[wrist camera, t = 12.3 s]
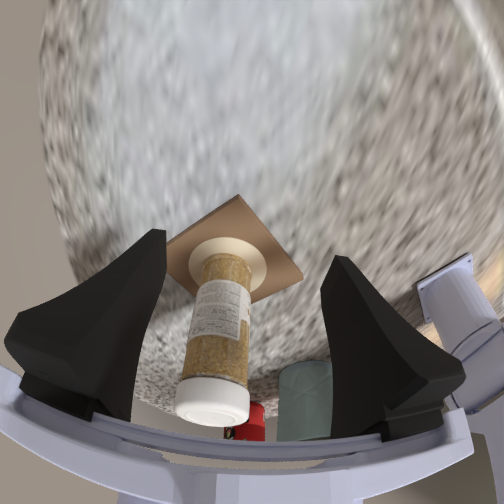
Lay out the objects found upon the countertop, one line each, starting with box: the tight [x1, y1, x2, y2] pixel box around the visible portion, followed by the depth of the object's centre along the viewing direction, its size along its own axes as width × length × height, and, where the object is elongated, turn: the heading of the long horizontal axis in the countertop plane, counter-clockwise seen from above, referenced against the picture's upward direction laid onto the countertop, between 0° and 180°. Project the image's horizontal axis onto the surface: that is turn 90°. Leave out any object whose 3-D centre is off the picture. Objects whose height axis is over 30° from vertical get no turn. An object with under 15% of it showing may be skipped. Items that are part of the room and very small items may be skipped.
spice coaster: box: [166, 194, 303, 304], centre depth 25 cm, size 10×10×1 cm
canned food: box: [223, 401, 265, 442], centre depth 44 cm, size 8×8×11 cm
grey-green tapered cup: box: [276, 360, 333, 442], centre depth 34 cm, size 10×10×12 cm
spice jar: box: [174, 253, 252, 427], centre depth 19 cm, size 5×5×13 cm
